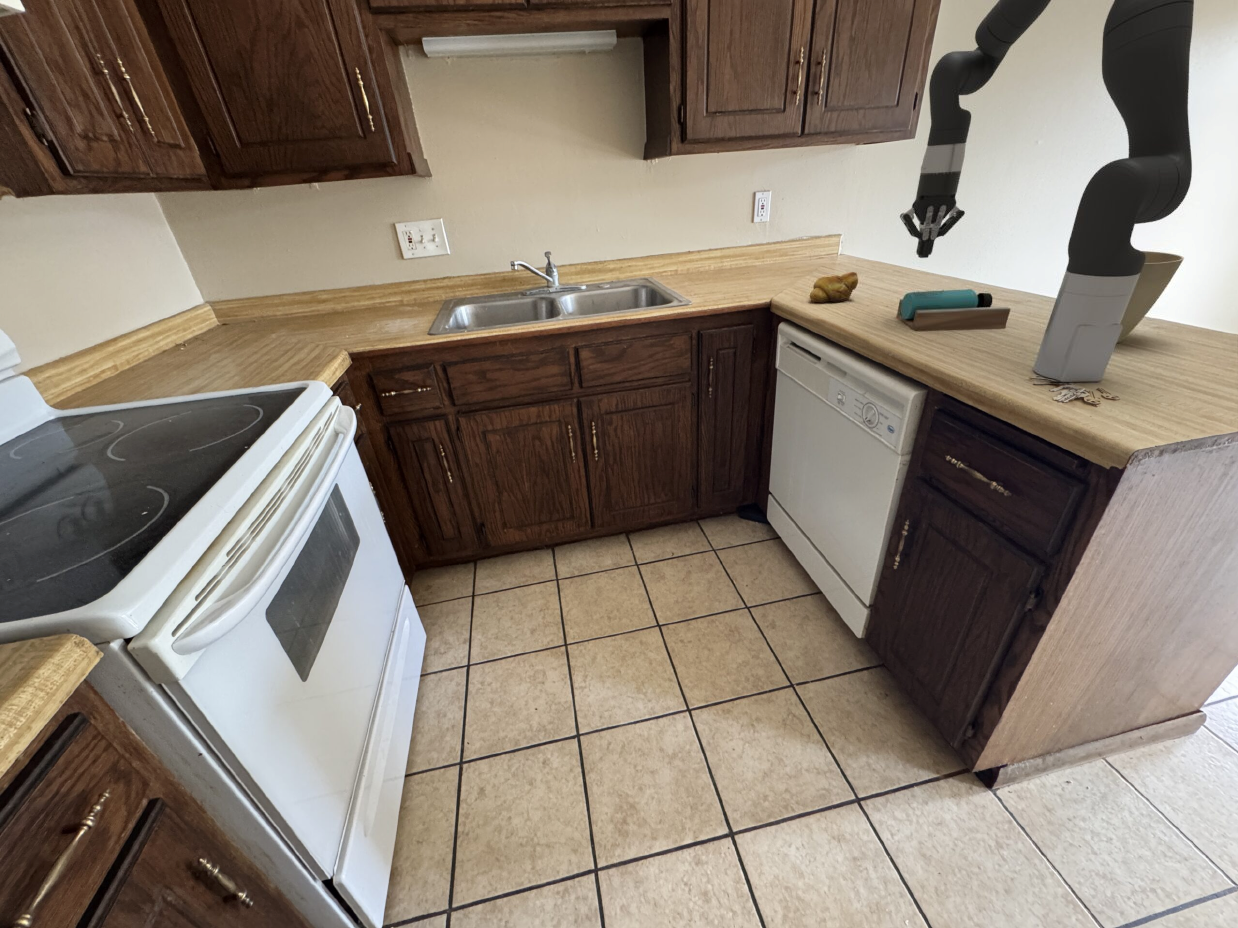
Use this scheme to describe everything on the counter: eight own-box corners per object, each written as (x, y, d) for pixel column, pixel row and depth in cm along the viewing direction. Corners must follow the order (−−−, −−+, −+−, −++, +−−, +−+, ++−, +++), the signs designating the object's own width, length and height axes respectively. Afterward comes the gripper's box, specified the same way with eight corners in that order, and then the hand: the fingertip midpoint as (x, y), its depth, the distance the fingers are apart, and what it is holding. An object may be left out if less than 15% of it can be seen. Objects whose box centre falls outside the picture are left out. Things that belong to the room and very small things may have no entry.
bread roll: (816, 306, 146) (819, 276, 143) (800, 299, 155) (803, 271, 151) (858, 301, 148) (863, 272, 144) (840, 295, 156) (844, 267, 152)
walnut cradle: (1005, 328, 117) (1010, 308, 115) (914, 330, 120) (918, 312, 118) (978, 314, 128) (983, 296, 126) (896, 316, 131) (899, 299, 129)
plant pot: (1063, 325, 116) (1090, 248, 108) (1153, 336, 106) (1190, 252, 98) (1042, 340, 108) (1070, 259, 100) (1138, 354, 98) (1176, 265, 90)
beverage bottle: (904, 321, 122) (994, 317, 120) (907, 291, 120) (999, 287, 118) (892, 320, 128) (978, 316, 126) (895, 291, 126) (983, 287, 124)
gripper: (913, 172, 107) (897, 261, 116) (983, 167, 105) (961, 258, 114) (901, 172, 114) (886, 256, 122) (967, 167, 112) (947, 253, 120)
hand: (923, 257), depth 118 cm, fingers closed
